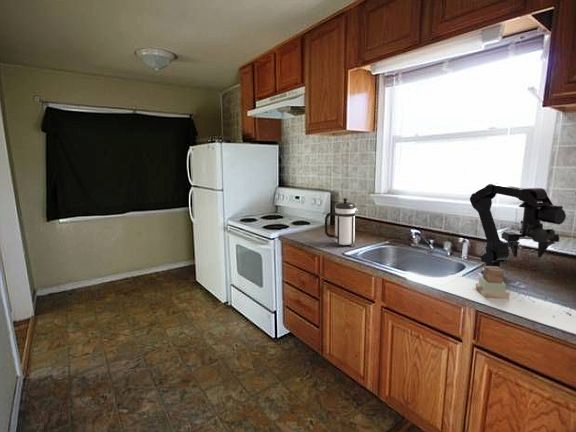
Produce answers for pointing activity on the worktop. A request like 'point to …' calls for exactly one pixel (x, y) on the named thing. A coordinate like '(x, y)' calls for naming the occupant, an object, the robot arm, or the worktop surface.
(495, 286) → the sage top block
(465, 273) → the worktop surface
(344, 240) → the coffee press
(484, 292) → the birch base block
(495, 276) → the walnut cube
